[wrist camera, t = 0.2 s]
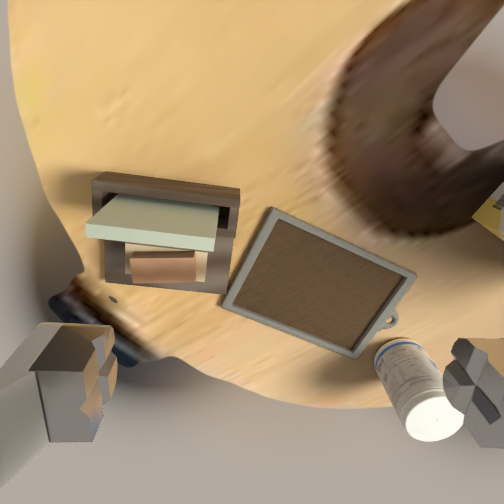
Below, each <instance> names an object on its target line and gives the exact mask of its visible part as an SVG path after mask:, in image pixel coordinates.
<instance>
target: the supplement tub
mask: <svg viewBox="0 0 504 504" xmlns="http://www.w3.org/2000/svg"><path fill="white" fill-rule="evenodd" d="M374 367H375V370H376V372H377V374H378V376H379V378H380V380H381V382H382V384H383V386H384V388H385V390H386V392H387V394H388V397H389V399H390V401H391V403H392V405H393V407H394V409H395V411H396V413H397V415H398V417H399V419H400V421H401V423H402V425H403V426H404V427H405V429H406V431H407V433H408V434H409V435H410V436H412V437H413V438H415V439H417V440H421V441H437V440H441V439H444V438H447V437H449V436H450V435H452V434H454V433H455V432H456V431H457V430H458V429H459V428H460V427H461V426H462V424H463V419H464V414H462V413H461V412H459V411H458V410H456V409H455V408H453V407H452V405H451V404H450V402H449V401H448V399H447V398H446V395H445V392H444V390H443V375H442V374H441V372H440V371H439V370H438V368H437V367H436V365H435V364H434V363H433V361H432V360H431V359H430V357H429V356H428V354H427V353H426V352H425V350H424V349H423V348H422V346H421V345H420V344H418V343H417V342H416V341H413V340H411V339H405V338H401V339H395V340H392V341H389V342H387V343H386V344H384V345H383V346H382V347H381V348H380V349H379V350H378V351H377V353H376V355H375V358H374Z"/></svg>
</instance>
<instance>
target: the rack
mask: <svg viewBox="0 0 504 504" xmlns="http://www.w3.org/2000/svg"><path fill="white" fill-rule="evenodd" d="M115 193H120V194H128V195H136V196H144V197H152V198H160V199H168V200H176V201H184V202H192V203H200V204H208V205H216V206H224V207H229V215H228V216H226V215H218V222H217V230H216V237H215V244H214V251H213V252H212V251H208V257H207V266H206V275H205V282H199V281H195V282H190V283H133V279H132V274H125V243H126V242H124V241H115V240H107V239H105V277H106V282H108V283H117V284H127V285H137V286H147V287H156V288H166V289H176V290H185V291H195V292H205V293H214V294H224V295H226V293H227V285H228V278H229V270H230V263H231V255H232V247H233V240H234V238H235V236H236V228H237V221H238V213H239V206H240V189H237V188H230V187H222V186H214V185H207V184H199V183H191V182H183V181H176V180H168V179H160V178H153V177H145V176H137V175H130V174H122V173H114V172H107V171H106V172H105V173H103V174H102V175H100V176H99V177H97V178H95V179H94V180H92V208H93V216H94V215H95V214H96V213H97V212H99V211H100V210H101V209H102V208H103V207H104V206H105V205H106V204H107V203H109V202H110V201H111V200H112V199H113V198H114V197H115Z"/></svg>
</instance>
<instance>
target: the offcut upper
mask: <svg viewBox="0 0 504 504" xmlns="http://www.w3.org/2000/svg"><path fill="white" fill-rule="evenodd" d="M130 265H131V272H132V279H133V283H190V282H195V281H196V276H197V270H196V254H195V251H134V252H133V254H132V255H131V257H130Z"/></svg>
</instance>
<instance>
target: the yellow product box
mask: <svg viewBox="0 0 504 504" xmlns="http://www.w3.org/2000/svg"><path fill="white" fill-rule="evenodd" d="M471 218H473V219H474V220H476V221H477V222H478V223H480V224H481V225H482V226H484V227H485V228H486V229H488V230H489V231H490V232H492V233H493V234H495V235H496V236H497V237H499V238H500V239H501V240H503V241H504V182H503V183H502V184H501V185H500V186H499V187H498V188H497V189H496V190H495V191H494V193H493V194H492V195H491V196H490V197H489V198H488V199H487V200H486V201H485V202H484V204H483V205H482V206H481V207H480V208H479V209H478V210H477V211H476V212H475V213H474V215H473V216H472V217H471Z"/></svg>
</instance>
